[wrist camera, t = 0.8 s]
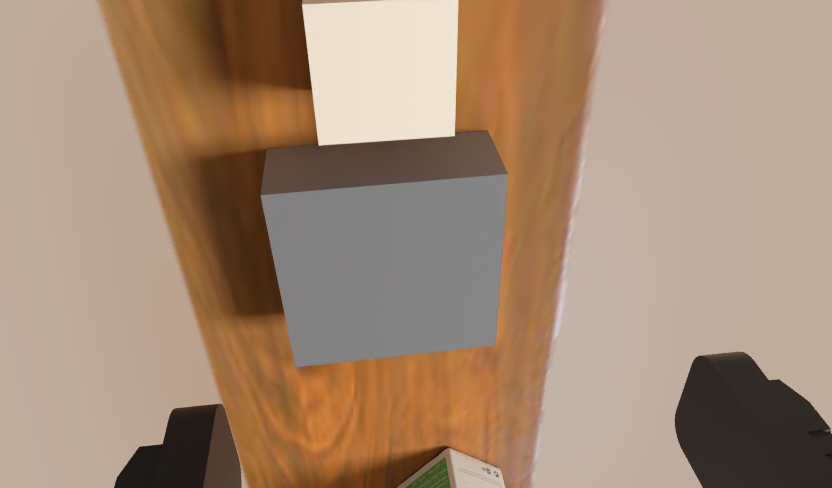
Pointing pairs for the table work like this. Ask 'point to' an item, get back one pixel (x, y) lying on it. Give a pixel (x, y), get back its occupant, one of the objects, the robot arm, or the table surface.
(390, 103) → the cream block
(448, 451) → the skincare box
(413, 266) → the slate block
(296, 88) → the table surface
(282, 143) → the table surface
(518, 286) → the table surface
